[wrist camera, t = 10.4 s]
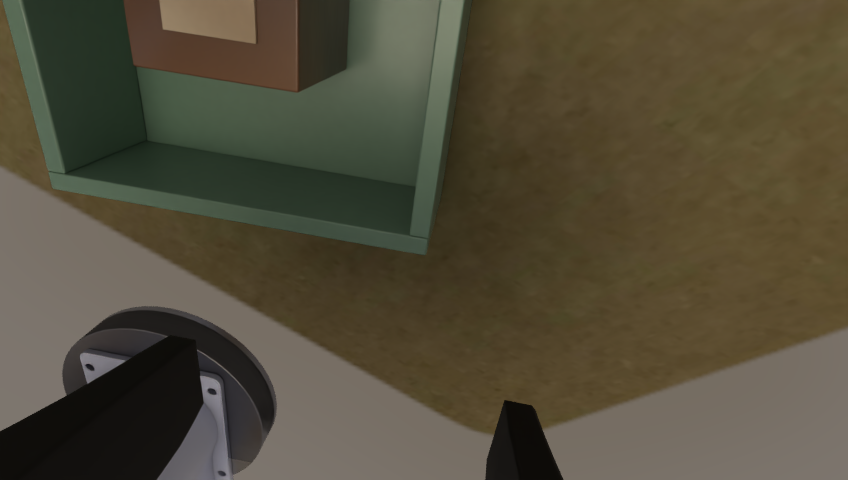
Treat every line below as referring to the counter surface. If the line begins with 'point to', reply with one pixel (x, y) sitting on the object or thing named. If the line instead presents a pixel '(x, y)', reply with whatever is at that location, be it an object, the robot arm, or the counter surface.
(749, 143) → the counter surface
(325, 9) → the letter block
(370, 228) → the tray
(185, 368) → the robot arm
